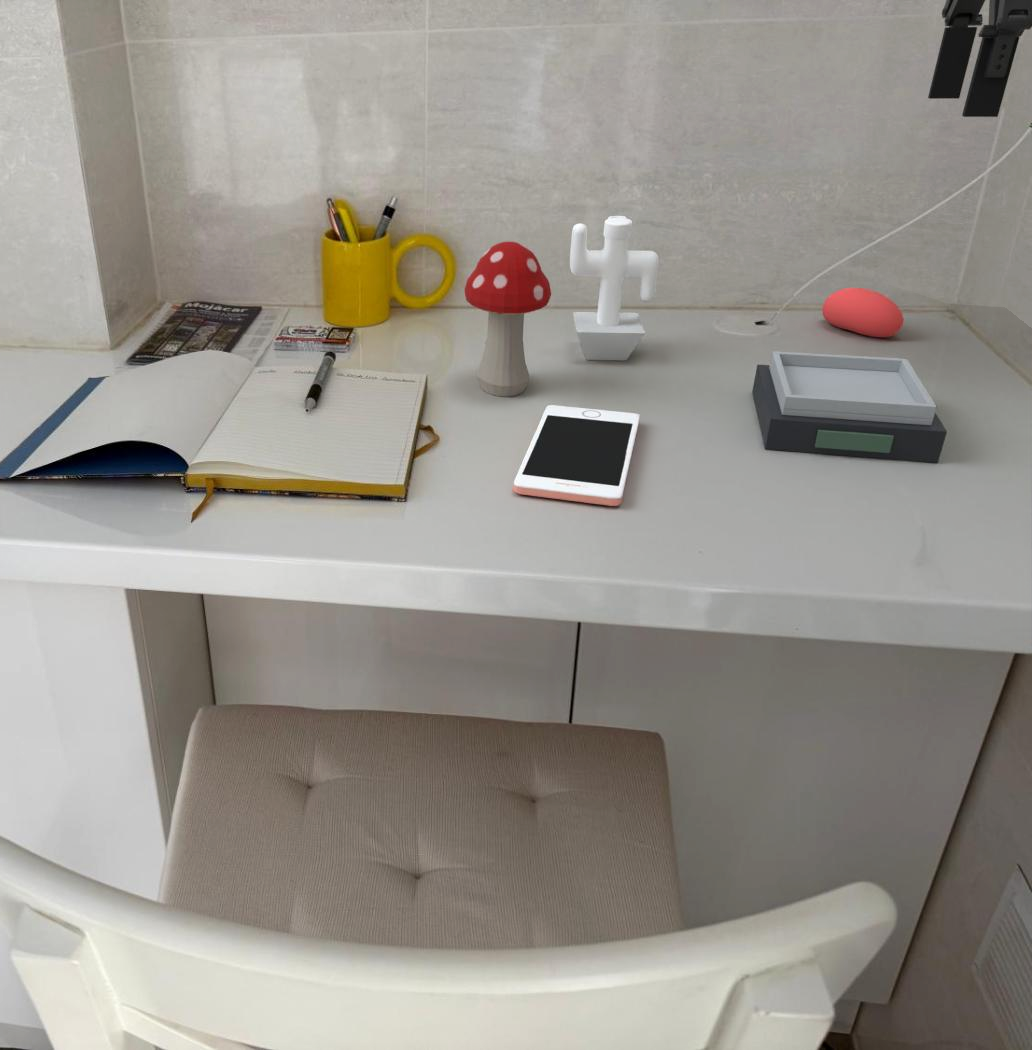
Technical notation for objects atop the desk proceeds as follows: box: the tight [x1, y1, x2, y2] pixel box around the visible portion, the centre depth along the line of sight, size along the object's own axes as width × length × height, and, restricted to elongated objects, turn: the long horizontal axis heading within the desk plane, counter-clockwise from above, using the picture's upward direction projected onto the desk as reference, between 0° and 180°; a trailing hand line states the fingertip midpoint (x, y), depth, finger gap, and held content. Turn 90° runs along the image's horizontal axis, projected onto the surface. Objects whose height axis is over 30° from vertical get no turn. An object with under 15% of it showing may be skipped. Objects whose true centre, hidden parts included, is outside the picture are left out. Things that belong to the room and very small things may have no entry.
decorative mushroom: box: [464, 241, 552, 398], centre depth 101 cm, size 10×9×15 cm
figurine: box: [569, 215, 660, 362], centre depth 109 cm, size 7×9×15 cm
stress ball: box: [821, 287, 905, 338], centre depth 115 cm, size 5×9×6 cm, turn 19°
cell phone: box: [512, 404, 641, 507], centre depth 89 cm, size 9×18×1 cm, turn 160°
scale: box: [751, 350, 948, 464], centre depth 92 cm, size 14×14×5 cm
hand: (960, 107), depth 96 cm, fingers open, 13 cm apart
